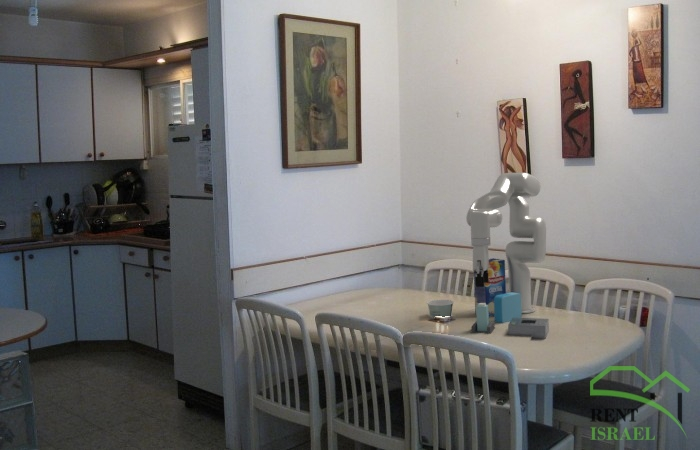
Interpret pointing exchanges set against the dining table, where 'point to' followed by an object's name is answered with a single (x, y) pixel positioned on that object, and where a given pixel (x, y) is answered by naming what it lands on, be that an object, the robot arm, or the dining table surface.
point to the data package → (507, 307)
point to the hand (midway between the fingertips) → (482, 284)
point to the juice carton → (491, 285)
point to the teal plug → (482, 317)
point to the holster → (489, 331)
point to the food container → (440, 308)
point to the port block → (529, 327)
